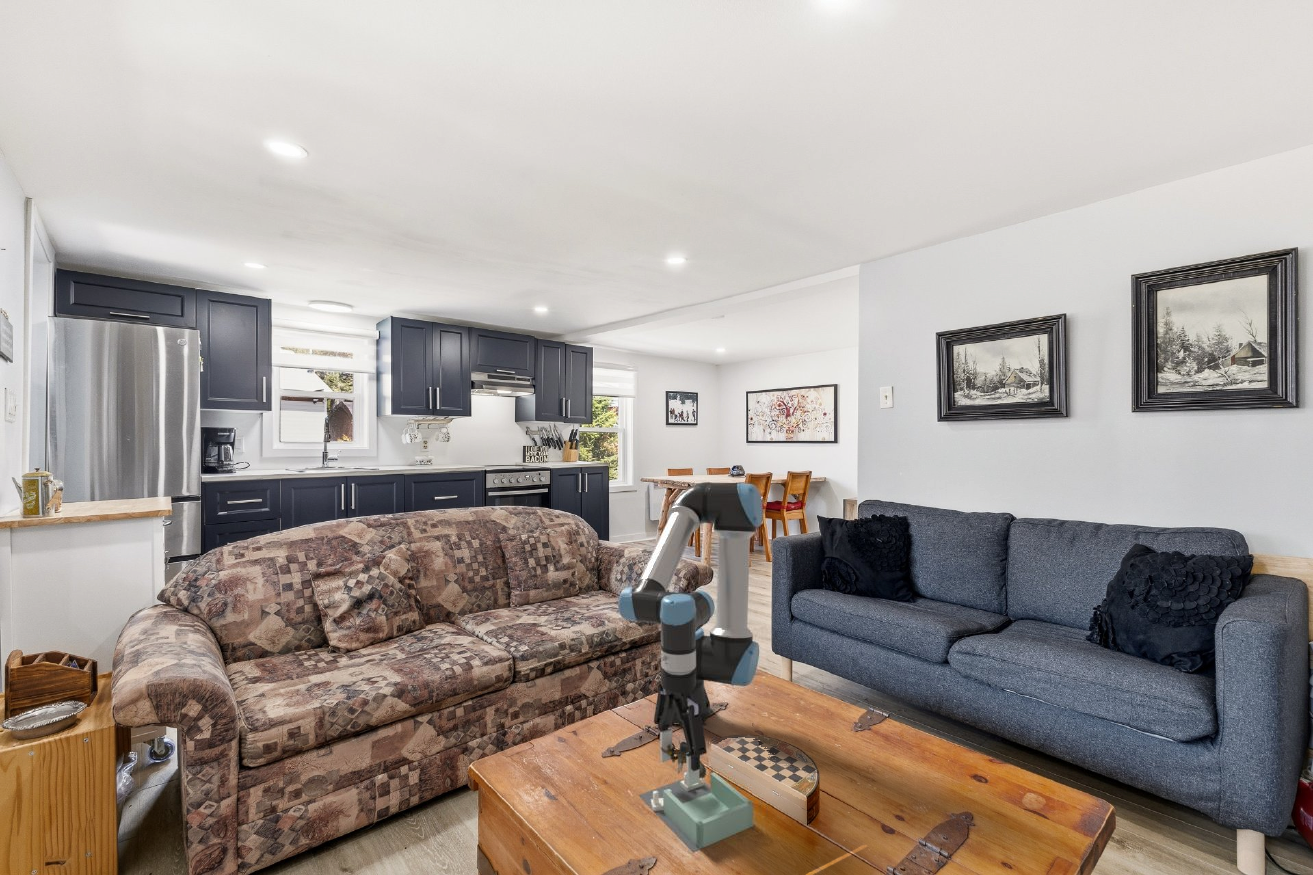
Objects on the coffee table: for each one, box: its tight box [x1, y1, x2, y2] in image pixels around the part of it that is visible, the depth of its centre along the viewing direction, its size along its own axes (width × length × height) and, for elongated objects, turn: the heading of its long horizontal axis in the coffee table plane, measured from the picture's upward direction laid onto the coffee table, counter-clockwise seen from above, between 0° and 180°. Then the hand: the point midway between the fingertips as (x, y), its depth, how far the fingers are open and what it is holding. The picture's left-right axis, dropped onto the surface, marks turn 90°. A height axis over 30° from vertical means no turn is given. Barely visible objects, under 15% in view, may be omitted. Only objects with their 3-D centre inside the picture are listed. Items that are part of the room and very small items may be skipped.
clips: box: [651, 772, 705, 812], centre depth 132 cm, size 14×6×3 cm, turn 121°
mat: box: [638, 778, 756, 853], centre depth 127 cm, size 15×21×1 cm
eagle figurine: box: [661, 737, 707, 779], centre depth 133 cm, size 8×7×9 cm
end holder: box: [663, 772, 754, 850], centre depth 124 cm, size 13×13×4 cm
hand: (679, 771), depth 132 cm, fingers closed on eagle figurine, 10 cm apart
